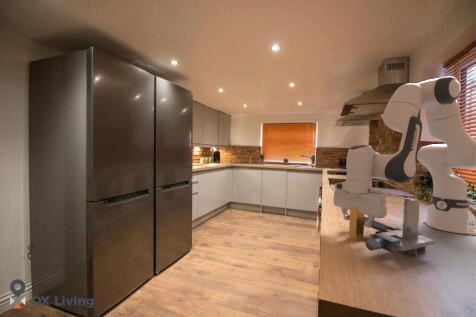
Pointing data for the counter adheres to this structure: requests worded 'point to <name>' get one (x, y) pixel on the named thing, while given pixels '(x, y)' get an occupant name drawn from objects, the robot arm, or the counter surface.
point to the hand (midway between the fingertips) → (356, 223)
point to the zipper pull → (383, 228)
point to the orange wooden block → (356, 225)
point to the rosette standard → (402, 233)
